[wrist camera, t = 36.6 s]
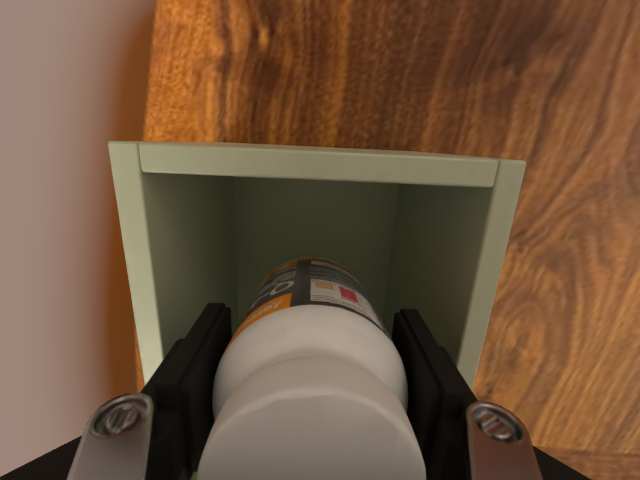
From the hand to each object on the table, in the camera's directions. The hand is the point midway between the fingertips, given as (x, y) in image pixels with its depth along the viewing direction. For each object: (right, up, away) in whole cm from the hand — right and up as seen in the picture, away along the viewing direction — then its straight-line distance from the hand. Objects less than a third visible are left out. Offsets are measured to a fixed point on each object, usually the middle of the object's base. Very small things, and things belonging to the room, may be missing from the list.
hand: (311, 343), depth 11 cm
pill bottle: (0, 0, +5) cm, 5 cm away
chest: (0, +3, +10) cm, 10 cm away
